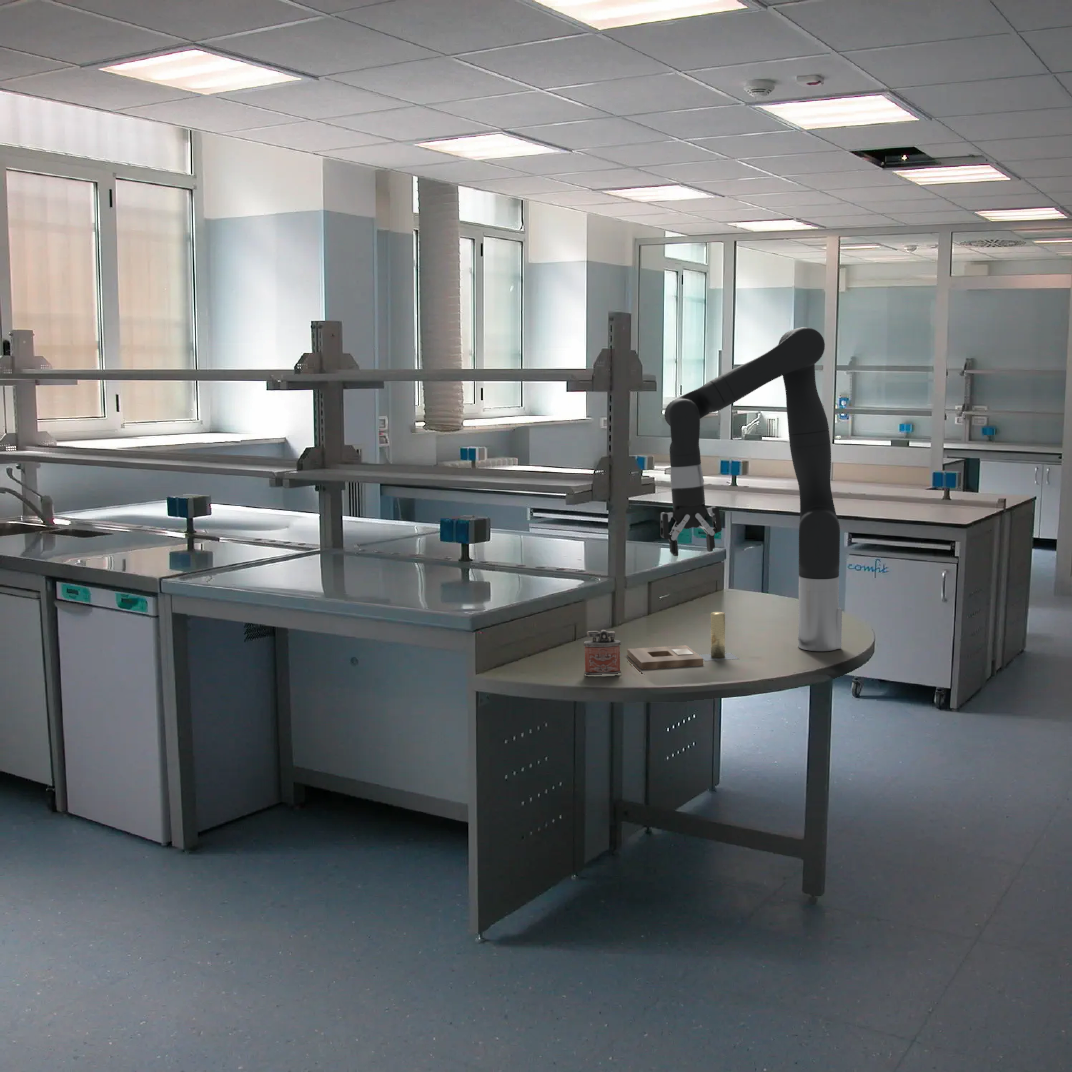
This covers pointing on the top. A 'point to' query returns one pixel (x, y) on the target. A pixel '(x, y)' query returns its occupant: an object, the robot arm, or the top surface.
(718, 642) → the brass peg
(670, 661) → the hole board
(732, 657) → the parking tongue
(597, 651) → the lighter
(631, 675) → the top surface
